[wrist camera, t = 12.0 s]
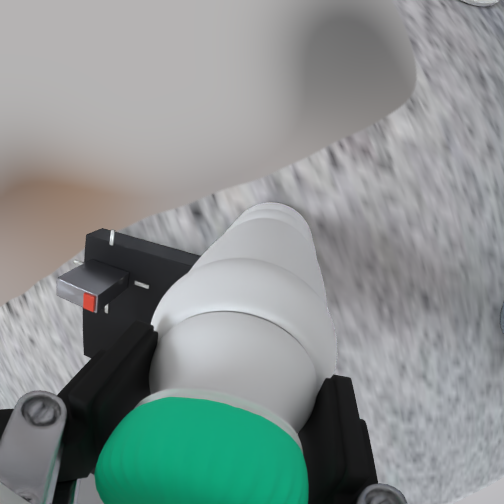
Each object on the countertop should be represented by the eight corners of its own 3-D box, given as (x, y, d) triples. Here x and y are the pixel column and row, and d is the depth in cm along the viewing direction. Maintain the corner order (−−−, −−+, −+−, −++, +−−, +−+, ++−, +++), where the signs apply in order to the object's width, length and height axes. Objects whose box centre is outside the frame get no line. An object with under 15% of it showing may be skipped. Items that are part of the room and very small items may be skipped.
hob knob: (90, 274, 28) (54, 296, 23) (91, 258, 28) (54, 279, 22) (127, 288, 28) (95, 314, 23) (129, 272, 28) (96, 296, 22)
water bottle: (249, 188, 27) (22, 336, 4) (325, 221, 27) (448, 490, 3) (220, 260, 29) (48, 506, 6) (291, 291, 29) (271, 587, 6)
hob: (94, 213, 30) (76, 219, 27) (228, 250, 29) (220, 260, 26) (88, 338, 34) (74, 351, 31) (199, 380, 33) (192, 397, 30)
